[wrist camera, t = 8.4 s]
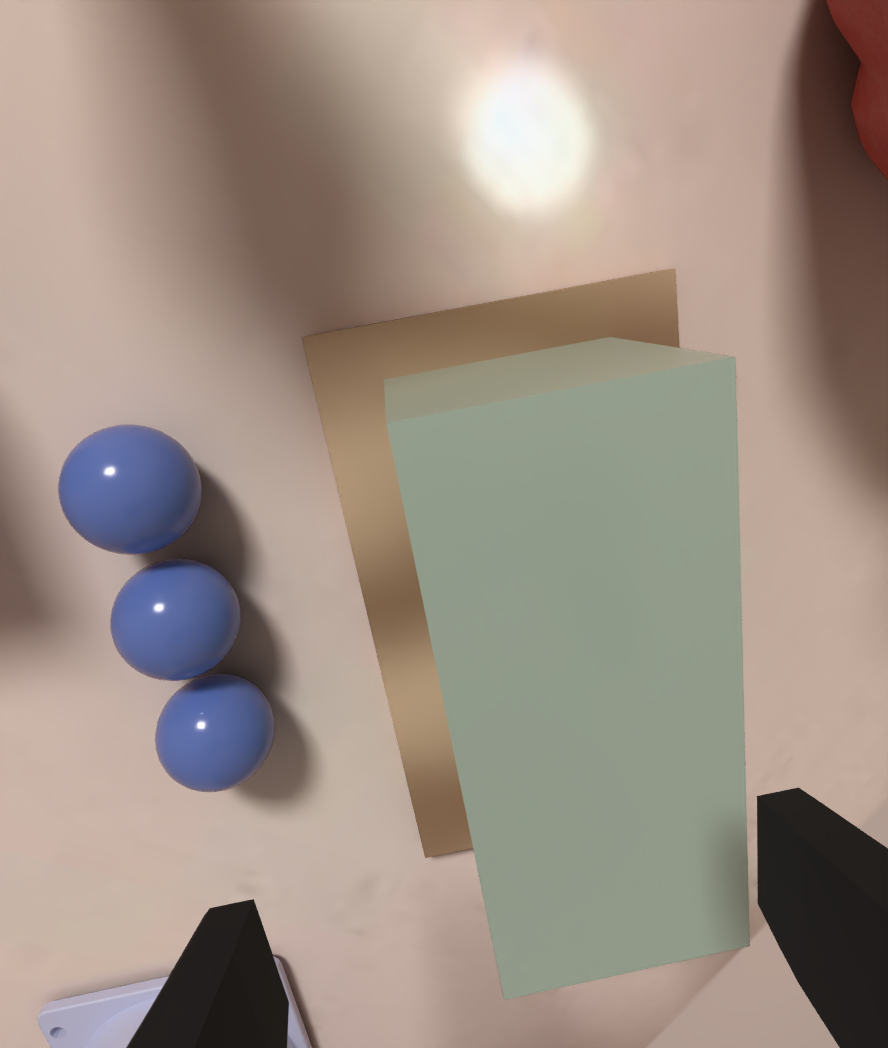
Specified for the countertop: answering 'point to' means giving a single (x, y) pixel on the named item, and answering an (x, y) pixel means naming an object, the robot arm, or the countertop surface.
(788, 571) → the countertop surface
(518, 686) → the sage cover
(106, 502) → the marble
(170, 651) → the marble
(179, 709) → the marble
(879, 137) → the vegetable
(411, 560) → the cork trivet
